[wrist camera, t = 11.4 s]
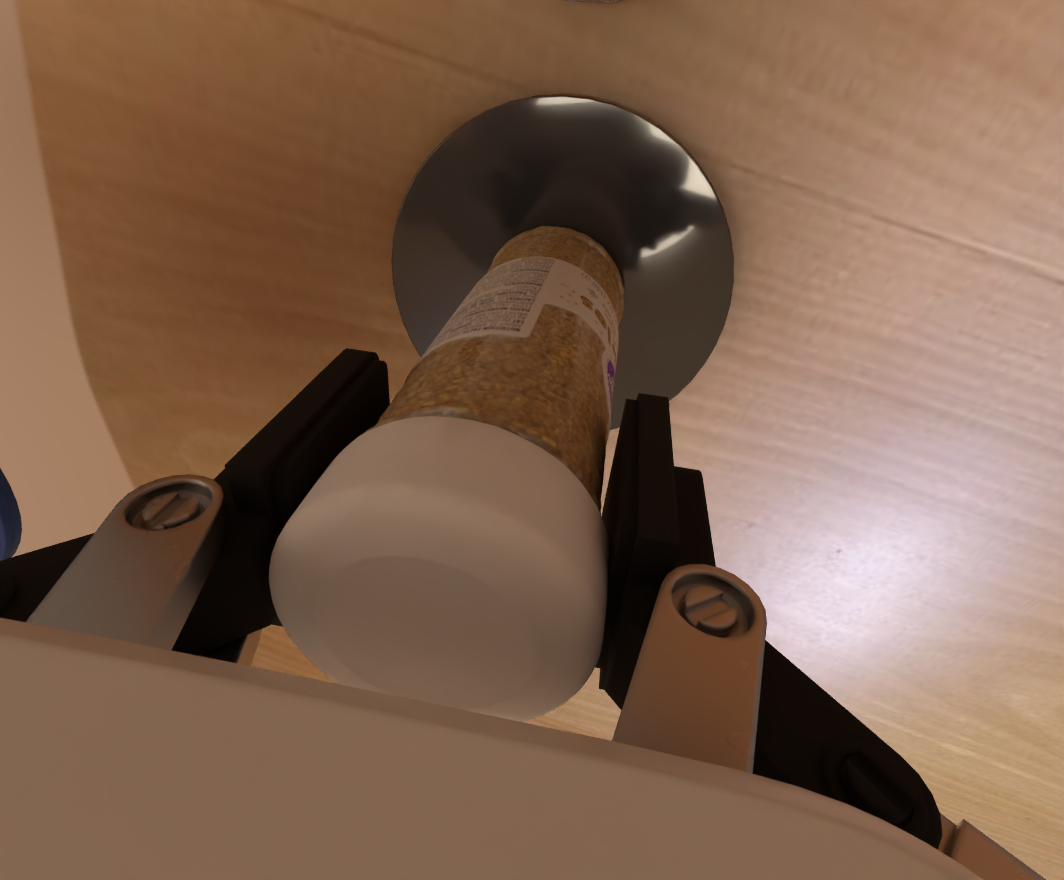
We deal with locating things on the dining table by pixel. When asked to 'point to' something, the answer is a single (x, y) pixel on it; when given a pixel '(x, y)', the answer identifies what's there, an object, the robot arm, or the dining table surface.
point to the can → (603, 0)
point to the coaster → (574, 227)
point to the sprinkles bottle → (473, 501)
